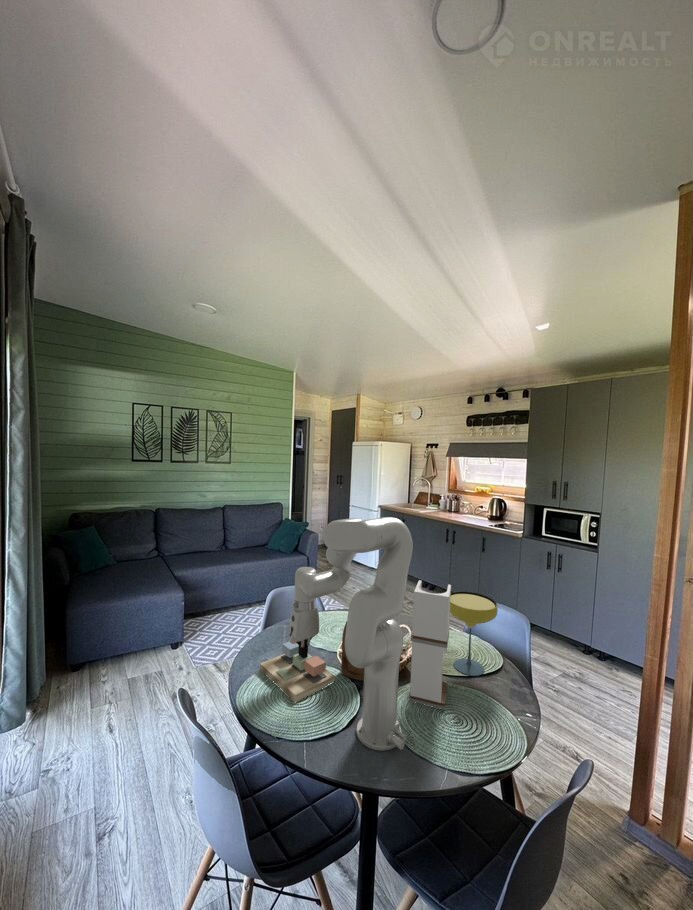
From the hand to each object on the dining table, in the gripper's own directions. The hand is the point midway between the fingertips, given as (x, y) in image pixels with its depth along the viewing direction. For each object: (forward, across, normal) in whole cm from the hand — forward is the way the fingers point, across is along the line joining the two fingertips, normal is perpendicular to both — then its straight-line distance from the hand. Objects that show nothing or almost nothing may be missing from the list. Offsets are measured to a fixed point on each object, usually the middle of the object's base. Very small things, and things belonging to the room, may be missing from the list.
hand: (303, 655), depth 130 cm
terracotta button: (+2, 0, -7) cm, 7 cm away
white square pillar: (+7, +26, -35) cm, 44 cm away
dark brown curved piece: (+7, +14, -12) cm, 20 cm away
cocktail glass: (+6, +50, -35) cm, 62 cm away
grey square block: (+2, 0, +7) cm, 7 cm away
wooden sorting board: (+6, -2, 0) cm, 7 cm away
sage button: (+3, 0, 0) cm, 3 cm away
